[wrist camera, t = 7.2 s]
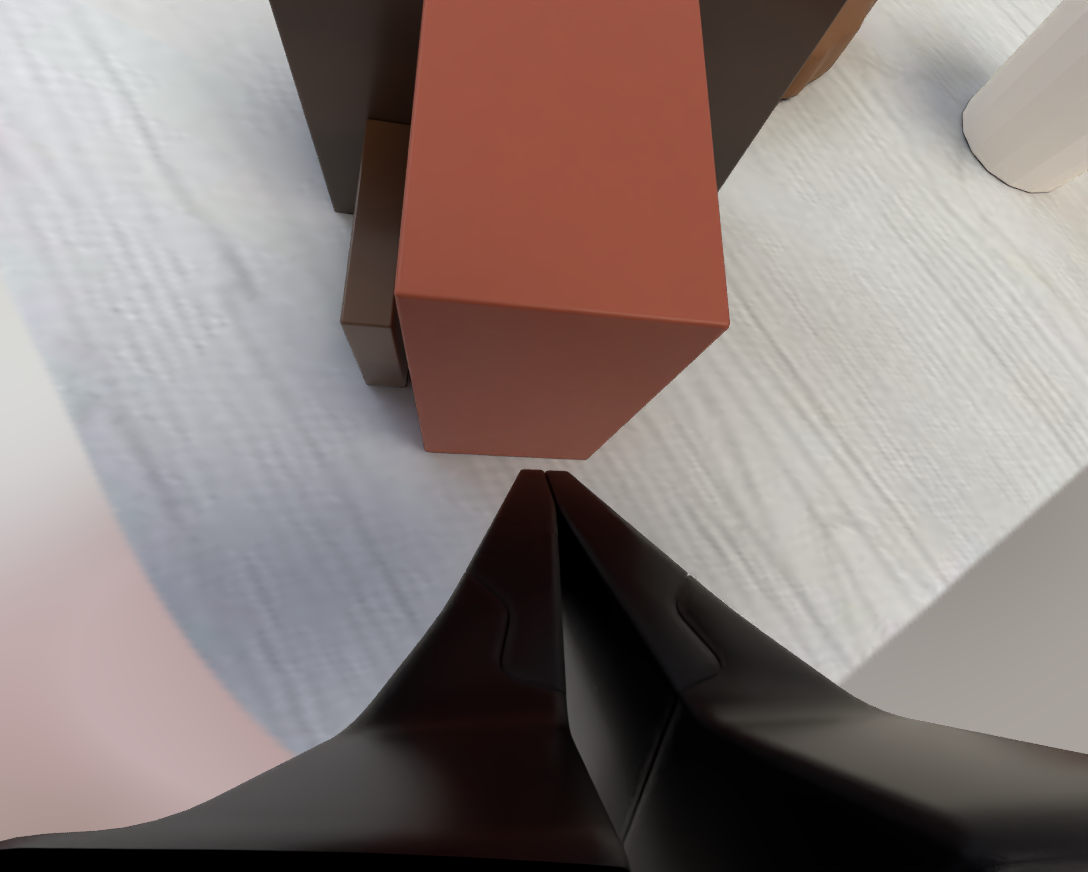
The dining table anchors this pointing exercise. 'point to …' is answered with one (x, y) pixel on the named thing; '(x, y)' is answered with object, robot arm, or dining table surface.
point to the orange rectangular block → (556, 220)
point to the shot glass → (1037, 106)
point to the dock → (386, 111)
